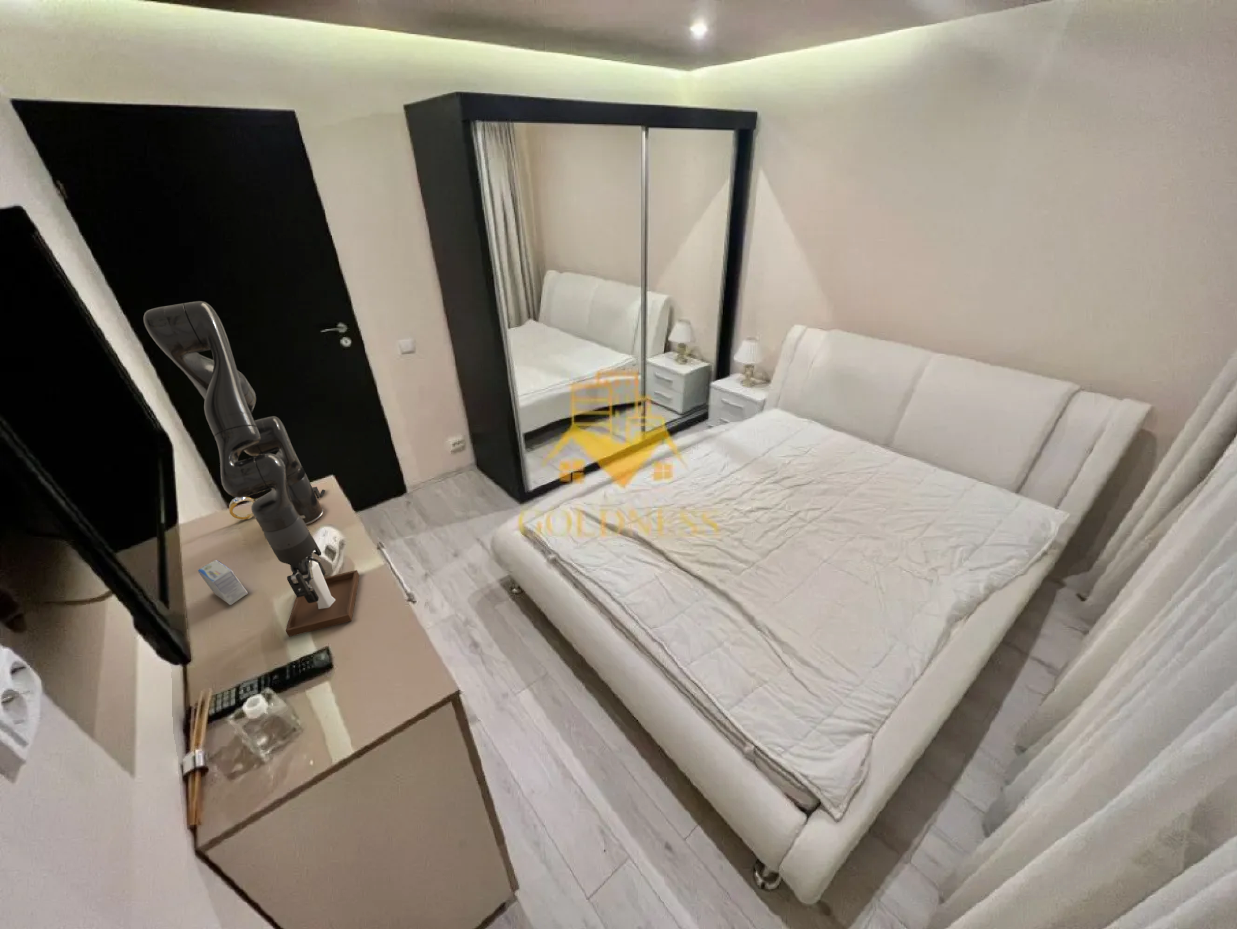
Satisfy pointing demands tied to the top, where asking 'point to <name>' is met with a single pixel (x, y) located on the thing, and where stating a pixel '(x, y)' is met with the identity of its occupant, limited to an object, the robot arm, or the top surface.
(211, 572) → the medicine box
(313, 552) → the robot arm
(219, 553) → the top surface
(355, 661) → the top surface
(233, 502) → the ring
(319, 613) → the tray
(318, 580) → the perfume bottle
